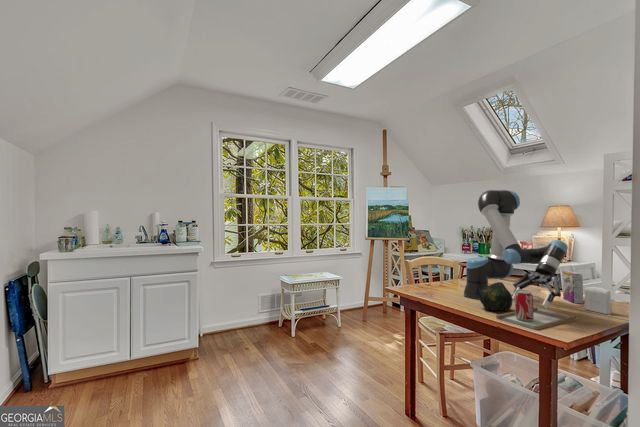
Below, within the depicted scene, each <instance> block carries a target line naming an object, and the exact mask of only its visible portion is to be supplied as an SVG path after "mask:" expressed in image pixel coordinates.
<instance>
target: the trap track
mask: <svg viewBox="0 0 640 427" xmlns="http://www.w3.org/2000/svg"><path fill="white" fill-rule="evenodd" d="M533 313H534V319H533V320H532V321H521V320H518V319H517V318H516V316H515V310H514V311H511V312H505V313H501V314H496V315H495V316H496V317H495V318H496V319H497V320H500V321H504V322H508V323H510V324H513V325H517V326H521V327H524V328H528V329H531V330H535V331H540V330H543V329H547V328H549V327H550V326H551V327H554V326H557V325H561V324H565V323H568V322H573V321H576V320H577V316H576V315H572V316H565V315H564V316H563V315H561V314H560V315H559V314H555V313H551V312H547V311H542V310H539V309H538V307H537V306H533Z"/></svg>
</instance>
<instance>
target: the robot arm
mask: <svg viewBox="0 0 640 427" xmlns="http://www.w3.org/2000/svg"><path fill="white" fill-rule="evenodd" d="M520 203H521V199H520V196H519V195H518V193H517V192H515V191H513V190H507V189H504V190H503V189H502V190H501V189H499V190H494V189H491V190H486V191H484V192H482V194H480V196H479V198H478V201H477V207H478V209H479V212H480V213H481V216H482V215H483V216H484V217H485V218H486V221H487V222H488V224H489V225H490V227H491V229H492V236H491V247H490V253H489V254H488V255H487V257H483V256H481V257H480V256H479V257H477V256H476V257H470V258H468V259H467V260H466V264H465V265H466V266H465V268H466V270H465V271H466V284H465V288H464V290H463V296H464V297H466V298H468V299H475V300H480V293H481V291H482V289H484V288H485V287H487V286H489V280H491V279H494V280H495V279H499V280H500V279H501V280H502V279H507V278H509V277H510V276H512V274H513V272H514V265H518V264H531V265H537V266H536V268H535V271H534V272H533V273H531V272H530V271H527V272H526V273H525V274H524V275H523V276H522V277H520V278H519V279H518V280H516V281H515V282H513V284H512V285H513V287H514V288H515V289H514V290H513V295H512V296H511V297H512V301H513V302H515V293H516V290H524V289H525V288H527V287H529V286H531V285H537V284H538V285H543V286H544V285H546V287H547V290H548V291H549V292H548V293H547V294H546V297H545V299H544V300H543V303H541V304H542V307H543V308H544V309H545V310H547V309H548V307H549V306H550V304H551V303H553V302H554V299H555V298H556V297H559V298H561V297H562V294H561V288H560V281H561V280H560V278H559V276H558V275H556V274H557V271H558V268H559V267H560V265H561V263H562V262H563V259H564V257H565V255H566V254H567V251H568V248H569V247H568V245H567V243H566V242H564V241H562V240H558V239H554V240H553V239H552V240H551V241H550V242H549V243H548V245H547V246H543V247H538V248H522V247H521V245H520V243H519V242H518V241H517V238H516V236H515V235H514V233H513V232H512V230H511V228H510V227H511V217H512V216H513V215H515V211H516V210H518V208H519V206H520V205H521V204H520ZM551 281H553V286H554V289H553V288H552V286H551V284H550V282H551Z"/></svg>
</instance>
